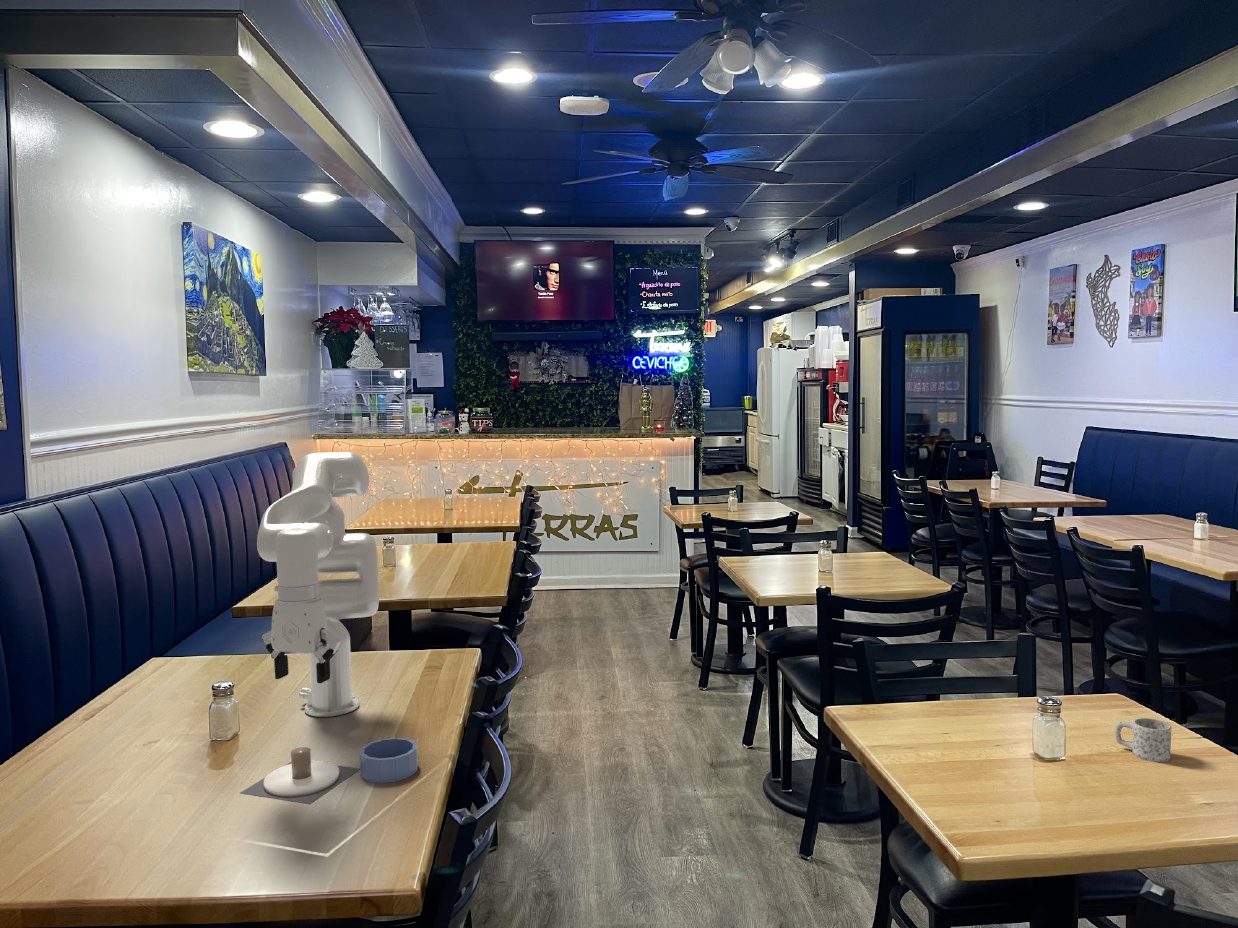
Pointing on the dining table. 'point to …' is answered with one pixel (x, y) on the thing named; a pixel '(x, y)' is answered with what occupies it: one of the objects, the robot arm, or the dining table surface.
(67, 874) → the dining table surface
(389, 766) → the bowl
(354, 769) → the mat
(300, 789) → the lid
